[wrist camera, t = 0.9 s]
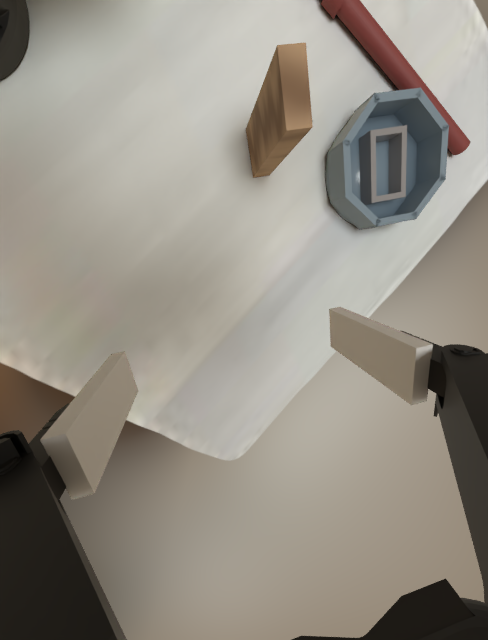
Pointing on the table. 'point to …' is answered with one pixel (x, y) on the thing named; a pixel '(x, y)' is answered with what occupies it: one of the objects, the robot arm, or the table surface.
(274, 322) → the table surface
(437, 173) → the octagonal blue tray
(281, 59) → the flat wood plank
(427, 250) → the table surface
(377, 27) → the rolling pin
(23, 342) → the table surface
